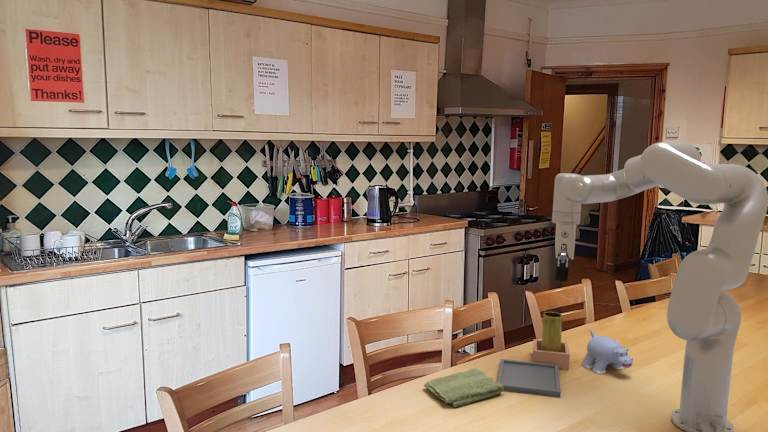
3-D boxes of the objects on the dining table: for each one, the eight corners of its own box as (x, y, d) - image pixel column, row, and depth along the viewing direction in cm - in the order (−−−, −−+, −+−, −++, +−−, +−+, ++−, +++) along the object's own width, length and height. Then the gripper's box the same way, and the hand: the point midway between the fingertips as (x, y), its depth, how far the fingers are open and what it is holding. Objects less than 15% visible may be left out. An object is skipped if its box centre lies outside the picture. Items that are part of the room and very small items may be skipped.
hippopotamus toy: (614, 382, 158) (616, 348, 157) (573, 362, 172) (575, 331, 170) (642, 375, 163) (645, 342, 162) (601, 356, 176) (603, 326, 175)
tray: (560, 397, 149) (560, 391, 149) (496, 389, 153) (496, 384, 153) (557, 369, 166) (558, 364, 166) (500, 363, 170) (500, 358, 170)
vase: (561, 366, 169) (564, 318, 167) (539, 364, 170) (542, 316, 168) (560, 358, 175) (562, 311, 173) (538, 356, 176) (541, 310, 174)
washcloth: (421, 389, 153) (421, 377, 152) (477, 376, 161) (477, 365, 160) (448, 410, 141) (449, 398, 141) (507, 395, 149) (508, 383, 149)
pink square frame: (568, 369, 166) (569, 354, 166) (532, 365, 169) (533, 350, 168) (567, 356, 176) (567, 342, 175) (532, 353, 178) (533, 339, 178)
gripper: (580, 223, 156) (575, 285, 159) (579, 213, 172) (575, 270, 175) (551, 221, 158) (547, 282, 161) (553, 212, 175) (549, 268, 177)
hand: (561, 276), depth 168 cm, fingers open, 9 cm apart
